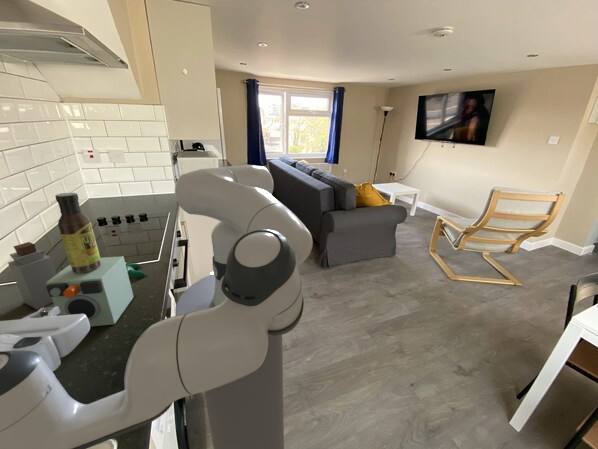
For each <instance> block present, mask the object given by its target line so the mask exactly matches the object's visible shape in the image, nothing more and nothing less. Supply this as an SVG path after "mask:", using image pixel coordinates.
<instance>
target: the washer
mask: <svg viewBox="0 0 598 449" xmlns="http://www.w3.org/2000/svg"><path fill="white" fill-rule="evenodd" d="M100 262H101V265H100V266H99V267H98V268H96V269H94V270H92V271H89V272H84V273H74V272H73V271H72V267H71V266H70V264H68V265H67V266H66V267H65V268H63V269H62V270H61V271H59V272H57V275H55V276H54V277H53V278H51V279H50V280H49V281H47V282H46V284H47V286H46V288H47V291H48V293H49V296H50V297H52V300H53V302H52V303H53V305H54V307H56V306H58V307H59V310H60V313H59V314H58V315H57V316H63V315H74V314H85V315H86V316H87V318H88V320H89V323H90V328H91V327H101V326H111V325H115V324H116V323H117V322H118V320H119V319H120V317H121V316H122V314H124V311H125V310H126V309H127V308H128V306H129V305H130V303H131V301H132V300H133V298H134V293H133V289H132V288H133V287H132V285H131V281H130V277H129V276H128V272H127V268H126V264H125V263H126V261H125V257H124V255H123V256H122V255H121V256H108V257H100ZM71 285H76V286H78V287H79V288H80V291H79V293H78V294H77V295H76V296H74V297H73V298H66V297H65V296H64V295H63V292H64V291H65V290H66V289H67V288H68V287H69V286H71Z"/></svg>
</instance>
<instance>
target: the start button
mask: <svg viewBox="0 0 598 449" xmlns="http://www.w3.org/2000/svg"><path fill="white" fill-rule="evenodd" d="M79 291H80V288H79V287H78V286H76V285H71V286H69V287H68V288H67V289H66V290H65V291H64V292H63V295H64V296H65V297H66V298H73V297H74V296H76V295H77V294H78V293H79Z"/></svg>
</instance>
